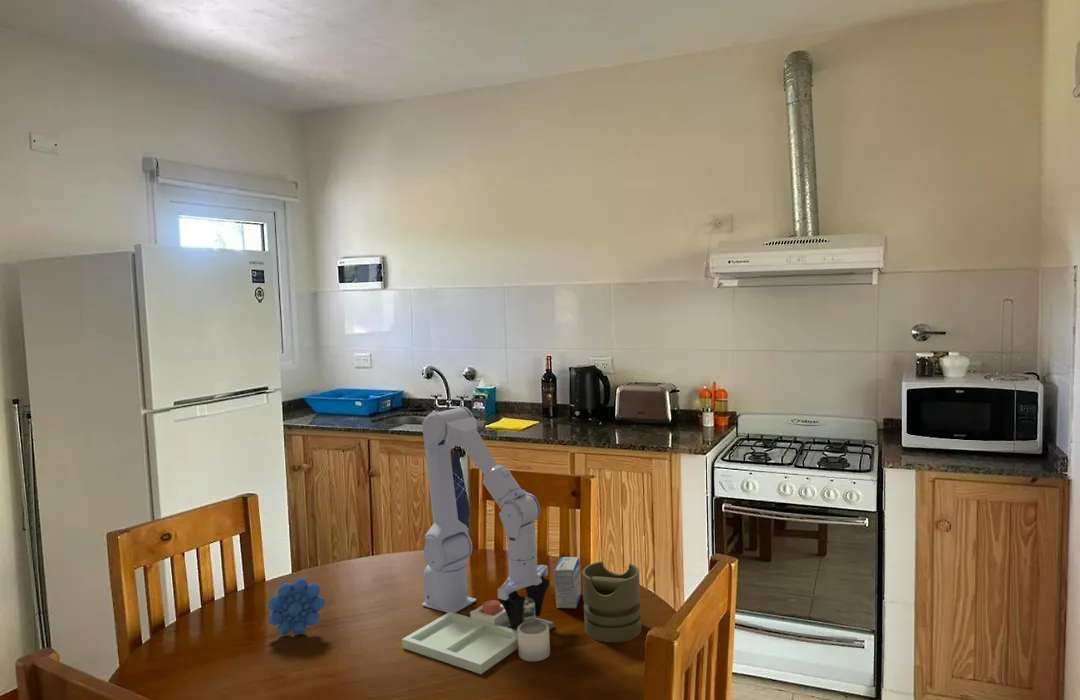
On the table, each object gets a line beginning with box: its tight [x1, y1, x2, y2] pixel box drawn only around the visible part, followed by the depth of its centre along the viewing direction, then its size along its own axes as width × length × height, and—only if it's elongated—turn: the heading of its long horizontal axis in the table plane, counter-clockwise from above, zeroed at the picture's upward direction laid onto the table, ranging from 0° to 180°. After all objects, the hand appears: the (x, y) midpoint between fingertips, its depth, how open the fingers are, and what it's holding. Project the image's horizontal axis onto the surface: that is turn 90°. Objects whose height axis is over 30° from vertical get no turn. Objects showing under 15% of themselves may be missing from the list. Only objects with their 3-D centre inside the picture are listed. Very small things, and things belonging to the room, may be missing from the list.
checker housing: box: [469, 603, 509, 626], centre depth 152 cm, size 6×6×3 cm
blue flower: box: [268, 577, 326, 636], centre depth 152 cm, size 12×7×12 cm, turn 94°
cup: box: [517, 621, 551, 662], centre depth 139 cm, size 6×6×5 cm
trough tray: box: [401, 612, 518, 675], centre depth 144 cm, size 20×14×2 cm
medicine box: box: [553, 556, 582, 609], centre depth 161 cm, size 8×4×9 cm, turn 168°
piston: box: [581, 560, 642, 643], centre depth 147 cm, size 11×12×11 cm
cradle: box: [503, 617, 555, 631], centre depth 149 cm, size 8×8×1 cm
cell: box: [515, 597, 537, 630], centre depth 148 cm, size 4×4×6 cm
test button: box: [482, 599, 501, 616], centre depth 152 cm, size 4×4×4 cm
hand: (525, 621), depth 148 cm, fingers open, 6 cm apart
